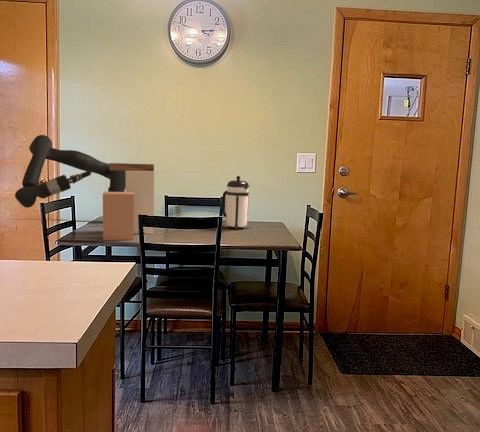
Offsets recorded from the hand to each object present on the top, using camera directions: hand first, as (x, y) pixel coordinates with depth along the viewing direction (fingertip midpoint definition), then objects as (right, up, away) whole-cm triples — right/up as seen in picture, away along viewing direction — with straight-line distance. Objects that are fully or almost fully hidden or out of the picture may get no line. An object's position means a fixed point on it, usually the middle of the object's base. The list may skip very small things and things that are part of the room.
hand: (90, 172), depth 223 cm
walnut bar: (+20, +2, +5) cm, 20 cm away
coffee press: (+72, -29, +34) cm, 85 cm away
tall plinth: (+22, -30, +11) cm, 39 cm away
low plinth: (+16, -32, -6) cm, 37 cm away
